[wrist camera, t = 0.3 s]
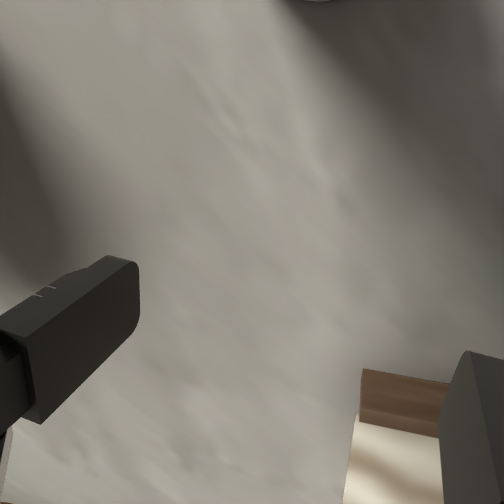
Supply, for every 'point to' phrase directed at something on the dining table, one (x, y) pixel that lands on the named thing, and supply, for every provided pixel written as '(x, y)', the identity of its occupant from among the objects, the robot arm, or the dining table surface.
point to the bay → (396, 442)
